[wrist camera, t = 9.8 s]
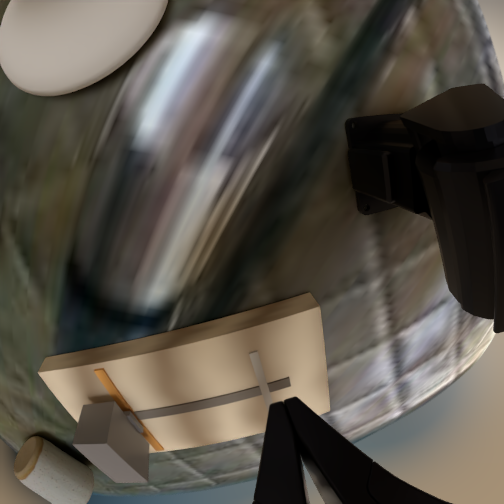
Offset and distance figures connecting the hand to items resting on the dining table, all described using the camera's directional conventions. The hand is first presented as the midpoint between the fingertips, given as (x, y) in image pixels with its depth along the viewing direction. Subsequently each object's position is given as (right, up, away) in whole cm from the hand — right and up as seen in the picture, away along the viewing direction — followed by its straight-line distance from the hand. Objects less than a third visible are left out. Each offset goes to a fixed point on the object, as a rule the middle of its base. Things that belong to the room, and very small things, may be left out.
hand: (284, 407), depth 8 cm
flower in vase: (-12, +20, +4) cm, 23 cm away
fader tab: (-12, -9, +12) cm, 19 cm away
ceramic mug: (-25, -20, +16) cm, 36 cm away
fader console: (-6, -6, +14) cm, 17 cm away
